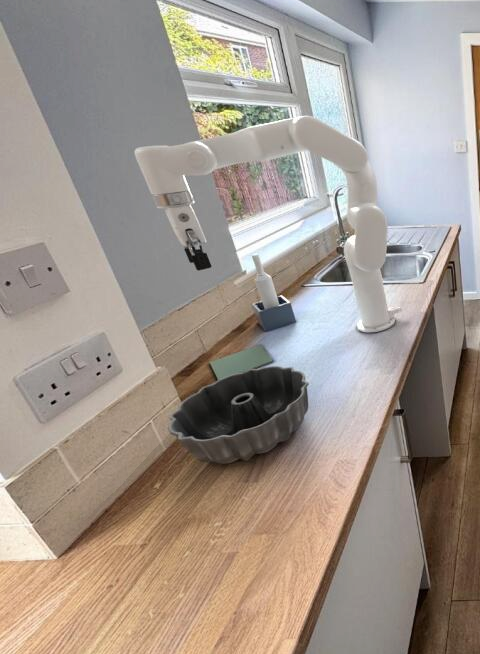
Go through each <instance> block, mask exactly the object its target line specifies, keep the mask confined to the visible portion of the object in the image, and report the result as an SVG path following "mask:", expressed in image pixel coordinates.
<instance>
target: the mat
mask: <svg viewBox="0 0 480 654" xmlns="http://www.w3.org/2000/svg"><path fill="white" fill-rule="evenodd" d="M272 363H274V360H273V358H272V357H271V356H270V355H269V353H268V352H267V351H266V350H265V348H264V347H263V346H262V344H258V345H255V346H252V347H250V348H246V349H243V350H241V351H238V352H235V353H232V354H229V355H226V356H224V357H220V358H217V359H214V360H212V361H209V365H210V366H211V368H212V371H213V372H214V374H215V375H214V376H216V378H217V381H218V380H220V379H222V378H224V377H227V376H230V375H233V374H237V373H243V372H245V371H247V370H249V369H259V368H262V367H264V366H266V365H268V364H272Z"/></svg>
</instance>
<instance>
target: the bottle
mask: <svg viewBox="0 0 480 654" xmlns="http://www.w3.org/2000/svg"><path fill="white" fill-rule="evenodd" d="M251 258H252V261H253V264H254V267H255V269H256V273H257V274H256V277H255V278H254V279H253V281H254V283H255V286H256V289H257V291H258V295H259V297H260V301H262V303H263V305H264V308H265V309H268V308H271V307H275V306H278V305H279V302H278V298H277V296H278V295H277V291H276V289H275V285H274V282H273V279H272V276H271V275H269V274H267V273H266V272H265V270H264V268H263V265H262V261H261V257H260V255H259V253H253V254H251Z"/></svg>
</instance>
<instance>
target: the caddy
mask: <svg viewBox="0 0 480 654" xmlns="http://www.w3.org/2000/svg"><path fill="white" fill-rule="evenodd" d="M277 298H278V302H279V305H278V306H275V307H271V308H268V309H265V308H264V305H263V303H262V300H260V301H257V302H254V303H251V307H252V309H253V312H254V316H255V318H256V321H257V323H258V325H260V327H261V328H262V329H263V330H264V331H265V332H269V331H271V330H275V329H279V328H281V327H284V326H286V325H289V324H293V323H296V322H297V320H296V315H295V313H294V310H293V306H292V303H291V301H290V300H288V298H286V297H285V296H283V295H277Z"/></svg>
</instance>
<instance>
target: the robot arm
mask: <svg viewBox="0 0 480 654" xmlns="http://www.w3.org/2000/svg"><path fill="white" fill-rule="evenodd" d="M307 151H309V152H310V153H313V154H315V155H316V156H318V157H320V158H321V159H324V160H326V161H328V162H330V163H332V164H333V165H334V166H335V167H337V168H339V169H340V170H341V171H342V173H343V174H344V177H345V179H346V186H347V210H346V221H347V223H348V225H349V226H350V227H351V229H353V230H354V235H351V236H350V237H349V238H348V239H346V240H345V242H344V246H343V256H344V259H345V262H346V265H347V268H348V271H349V275H350V278H351V279H350V280H351V284H352V288H353V292H354V297H355V301H356V305H357V310H358V315H359V318H360V320H359V321H358V322H357V324H356V327H357V330H358V331H360V332H362V333H369V334H371V333H378V332H382V331H385V330H388V329H390V328H391V327H392V326H394V325H395V323H396V320H395V319H396V318H395V317H394V316H395V315H396V314H400V313H402V312H403V309H402V306H398V307H395V306H392V307H388V301H387V296H386V292H385V285H384V281H383V280H384V279H383V275H382V271H381V268H382V267H383V265H385V261H386V259H387V250H388V249H387V247H388V246H387V245H388V229H389V227H388V219H387V216H386V214H385V212H384V211H383V210H382V209H381V208H380V207H379V206H378V183H377V176H376V173H375V170H374V168H373V166H372V164H371V162H370V161H369V154H368V151H367V149H366V147H365V146H364V145H363V144H362V143H361V142H360V141H358V140H357V139H356V138H353V137H352V136H349V135H348V134H345V132H342V131H340V130H339V129H337V128H334V127H333V126H331V125H329V124H327V123H325V122H324V121H323V120H320V119H319V118H317V117H314V116H312V115H301V116H296V117H291V118H286V119H282V120H277V121H273V122H266V123H263V124H258V125H253V126H249V127H244V128H242V129H239V130H237V131H233V132H230V133H226V134H221V135H218V136H212V137H208V138H204V139H203V138H202V139H198V140H194V141H189V142H185V143H182V144H176V145H148V146H139V147H136V148H135V149H134V156H135V160H136V162H137V165H138V166H139V169H140V171H141V173H142V176H143V178H144V181H145V182H146V183H145V184H147V185H146V186H147V187H148V190H149V192H150V195H151V197H152V199H153V201H154V203H155V206H156V208H157V209H161V210H164V212H165V214H166V217H167V220H168V221H169V223H170V226H171V228H172V230H173V232H174V235H175V236H176V238H177V240H178V241H179V243H180V244H181V245H182V246H183V250H184V252H185V254H186V257H187V260H188V262H189V263H190V264H194V267H195V269H196V271H202V270H207V269H211V268H212V264H211V261H210V258H209V256H208V253H207V252H206V249H204V247H203V244H207V242H208V241H207V238H206V236H205V233H204V232H203V229H202V226H201V224H200V222H199V219H198V217H197V215H196V213H195V210H194V209H193V206H192V205H194V204H195V199H194V197H193V195H192V192H191V189H190V187H189V185H188V181H187V179H186V177H185V176H207V175H209V174H211V173H212V172H214V171H215V170H218V169H222V168H226V167H230V166H235V165H239V164H244V163H245V164H246V163H263V162H267V161H272V160H275V159H280V158H282V157H287V156H291V155H295V154H299V153H303V152H307ZM202 243H203V244H202Z"/></svg>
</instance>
